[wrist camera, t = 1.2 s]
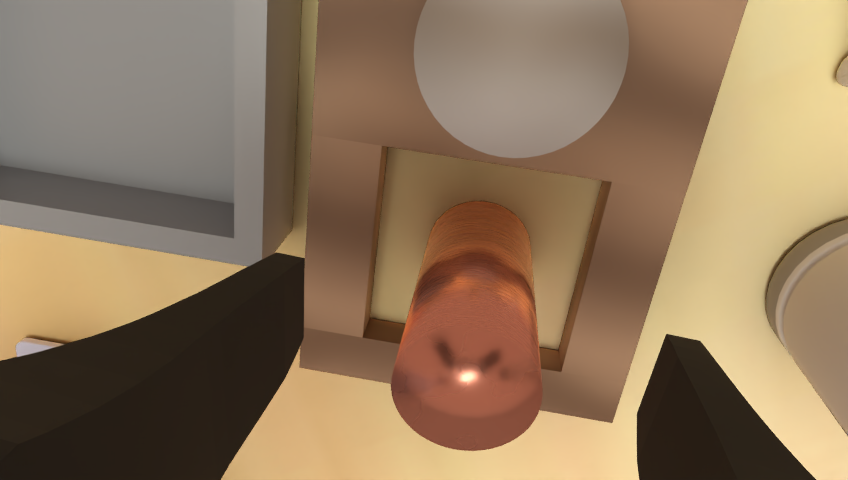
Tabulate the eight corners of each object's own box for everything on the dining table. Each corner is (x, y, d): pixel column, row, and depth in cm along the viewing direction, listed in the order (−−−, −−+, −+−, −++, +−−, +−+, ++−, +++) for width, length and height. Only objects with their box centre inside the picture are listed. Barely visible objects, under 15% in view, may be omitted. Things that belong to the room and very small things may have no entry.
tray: (292, 229, 26) (261, 268, 22) (-15, 178, 26) (-87, 209, 23) (307, -143, 20) (270, -162, 17) (-81, -195, 21) (-186, -222, 18)
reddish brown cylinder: (519, 301, 26) (526, 462, 18) (422, 284, 26) (383, 436, 18) (539, 210, 24) (557, 341, 16) (435, 193, 24) (399, 314, 16)
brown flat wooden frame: (606, 399, 27) (622, 468, 23) (309, 347, 28) (280, 406, 24) (740, -30, 20) (791, -27, 16) (335, -86, 21) (299, -95, 17)
